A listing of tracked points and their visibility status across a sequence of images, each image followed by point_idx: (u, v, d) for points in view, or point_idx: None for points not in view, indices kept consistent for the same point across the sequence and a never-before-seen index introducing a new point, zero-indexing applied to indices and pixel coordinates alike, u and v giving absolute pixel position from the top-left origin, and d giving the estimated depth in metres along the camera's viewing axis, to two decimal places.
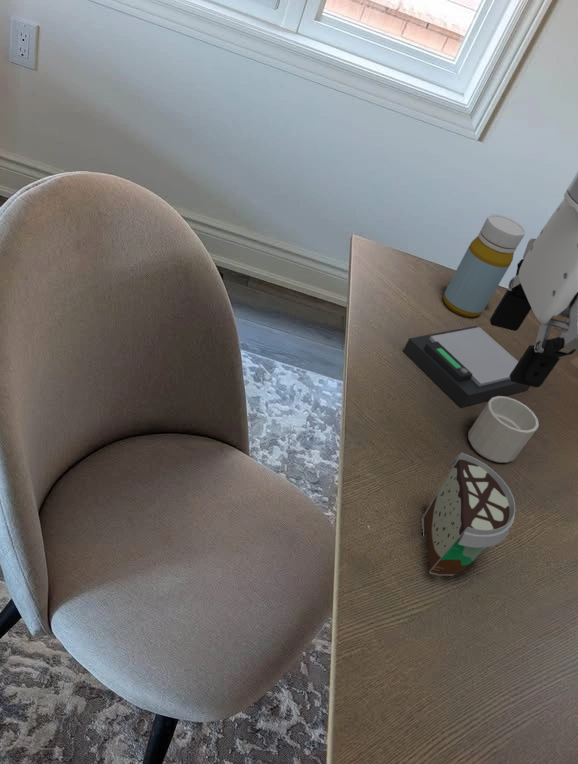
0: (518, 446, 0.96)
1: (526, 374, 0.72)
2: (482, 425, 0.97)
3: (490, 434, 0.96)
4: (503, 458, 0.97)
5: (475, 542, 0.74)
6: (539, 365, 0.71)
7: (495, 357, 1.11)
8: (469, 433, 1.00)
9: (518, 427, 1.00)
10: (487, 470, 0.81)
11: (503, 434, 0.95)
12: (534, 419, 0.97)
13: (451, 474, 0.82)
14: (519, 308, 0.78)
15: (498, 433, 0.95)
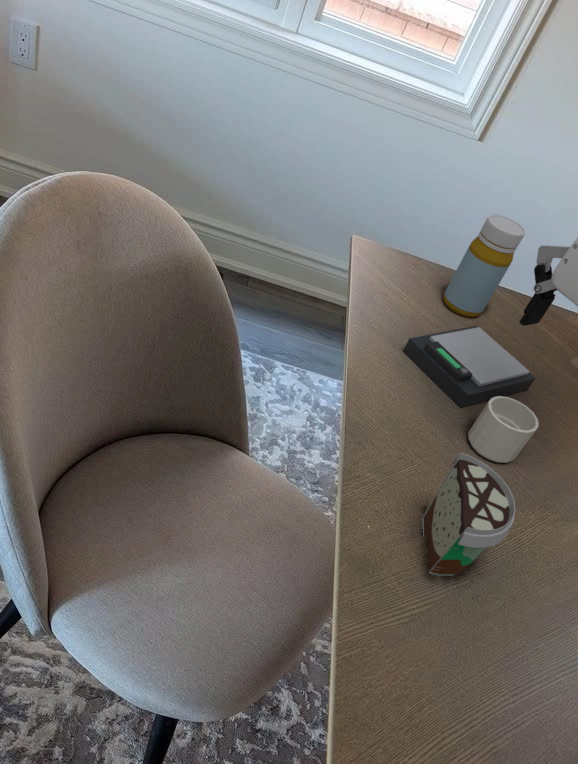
0: (518, 446, 0.96)
1: None
2: (482, 425, 0.97)
3: (490, 434, 0.96)
4: (503, 458, 0.97)
5: (474, 542, 0.74)
6: None
7: (495, 357, 1.11)
8: (469, 433, 1.00)
9: (518, 427, 1.00)
10: (487, 470, 0.81)
11: (503, 434, 0.95)
12: (534, 419, 0.97)
13: (451, 474, 0.82)
14: (544, 306, 0.90)
15: (498, 433, 0.95)
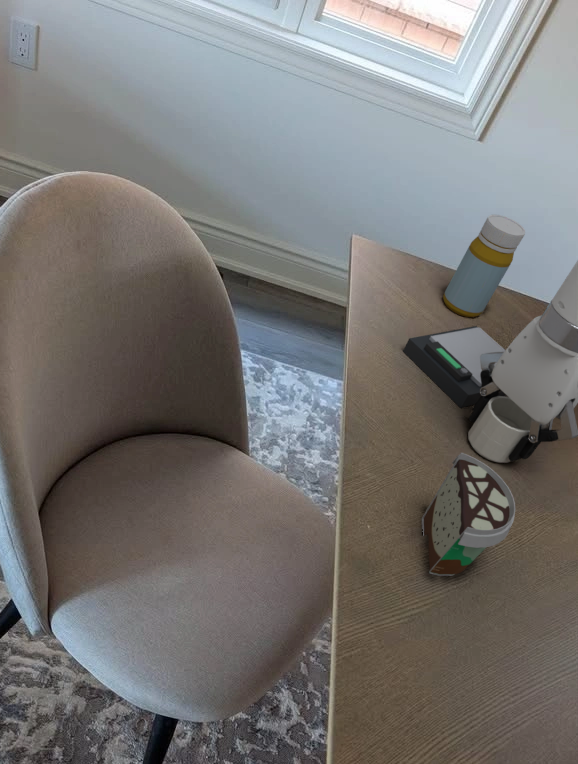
0: None
1: (523, 455, 0.96)
2: (482, 425, 0.97)
3: (490, 434, 0.96)
4: (503, 458, 0.97)
5: (474, 542, 0.74)
6: (532, 448, 0.95)
7: None
8: (469, 433, 1.00)
9: (518, 427, 1.00)
10: (487, 470, 0.81)
11: (503, 434, 0.95)
12: None
13: (451, 474, 0.82)
14: None
15: (498, 433, 0.95)
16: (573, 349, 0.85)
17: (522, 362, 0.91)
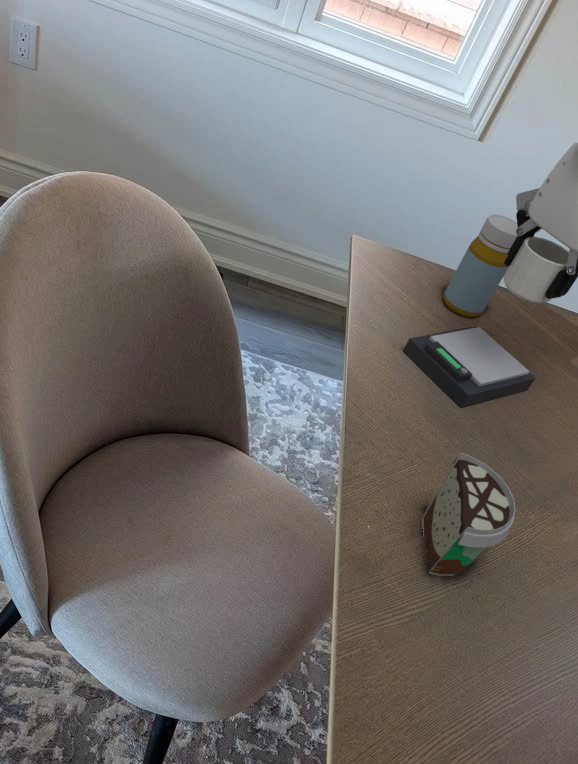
0: None
1: (560, 291, 0.96)
2: (518, 263, 0.98)
3: (527, 271, 0.97)
4: (539, 297, 0.98)
5: (474, 542, 0.74)
6: (569, 282, 0.96)
7: (495, 357, 1.11)
8: (504, 276, 1.01)
9: None
10: (487, 470, 0.81)
11: (540, 269, 0.95)
12: None
13: (451, 474, 0.82)
14: None
15: (535, 268, 0.96)
16: None
17: (561, 190, 0.91)
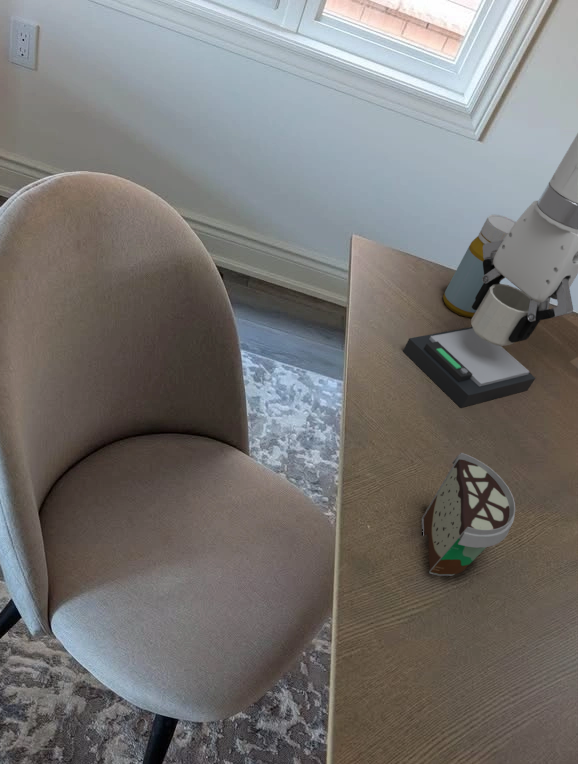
0: None
1: (522, 336, 1.03)
2: (484, 309, 1.05)
3: (491, 316, 1.04)
4: (503, 340, 1.05)
5: (474, 542, 0.74)
6: (530, 328, 1.03)
7: (495, 357, 1.11)
8: (472, 320, 1.08)
9: None
10: (487, 470, 0.81)
11: (503, 315, 1.03)
12: None
13: (451, 474, 0.82)
14: None
15: (498, 314, 1.03)
16: (569, 224, 0.92)
17: (522, 244, 0.99)
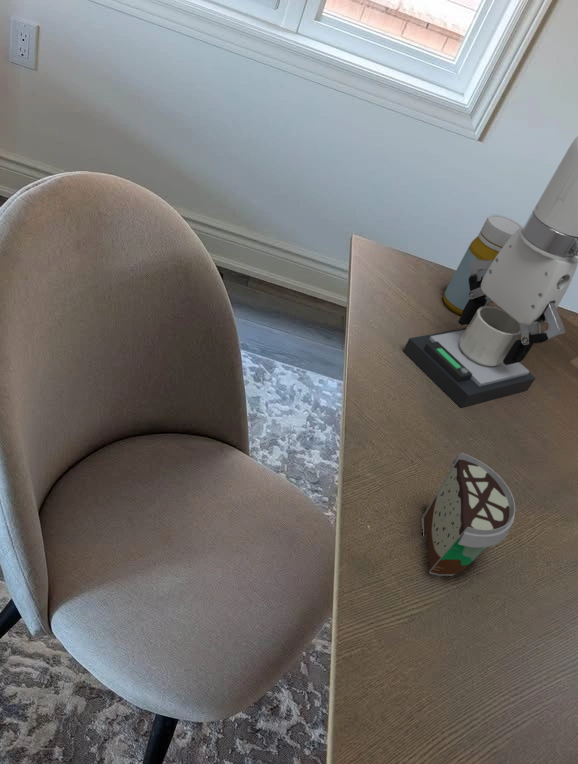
0: (504, 349, 1.06)
1: (516, 358, 1.05)
2: (472, 331, 1.07)
3: (479, 338, 1.06)
4: (491, 361, 1.08)
5: (474, 542, 0.74)
6: (524, 351, 1.04)
7: None
8: (460, 341, 1.10)
9: None
10: (487, 470, 0.81)
11: (490, 337, 1.05)
12: (519, 325, 1.07)
13: (451, 474, 0.82)
14: None
15: (486, 336, 1.05)
16: (552, 252, 0.95)
17: (508, 269, 1.01)
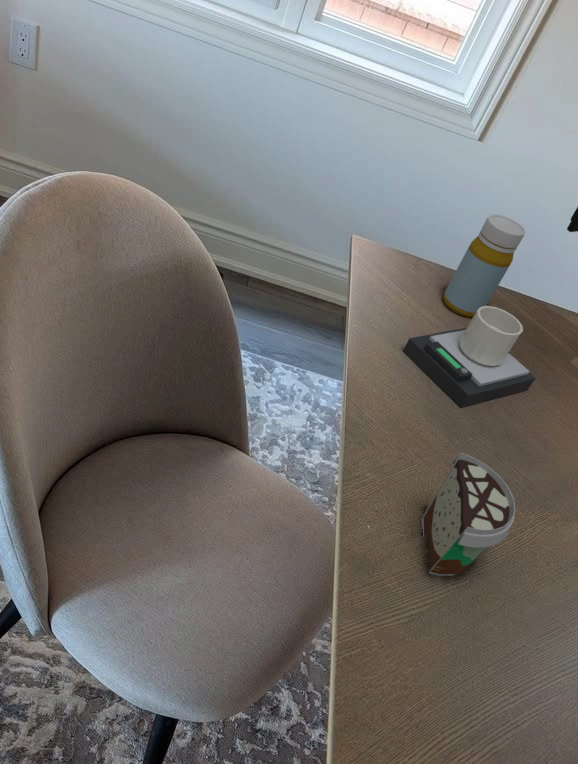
0: (504, 349, 1.06)
1: None
2: (472, 331, 1.07)
3: (479, 338, 1.06)
4: (491, 361, 1.08)
5: (474, 542, 0.74)
6: None
7: None
8: (460, 341, 1.10)
9: None
10: (487, 470, 0.81)
11: (490, 337, 1.05)
12: (519, 325, 1.07)
13: (451, 474, 0.82)
14: None
15: (486, 336, 1.05)
16: None
17: None
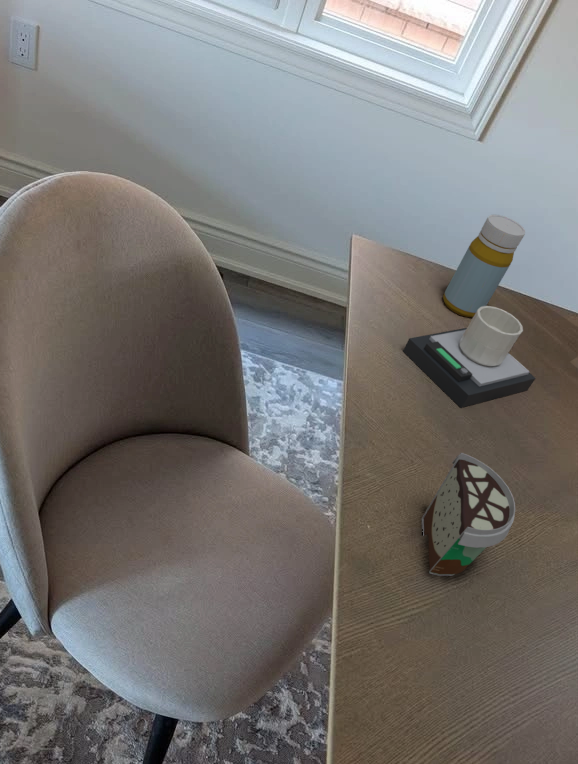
0: (504, 349, 1.06)
1: None
2: (472, 331, 1.07)
3: (479, 338, 1.06)
4: (491, 361, 1.08)
5: (474, 542, 0.74)
6: None
7: None
8: (460, 341, 1.10)
9: None
10: (487, 470, 0.81)
11: (490, 337, 1.05)
12: (519, 325, 1.07)
13: (451, 474, 0.82)
14: None
15: (486, 336, 1.05)
16: None
17: None
